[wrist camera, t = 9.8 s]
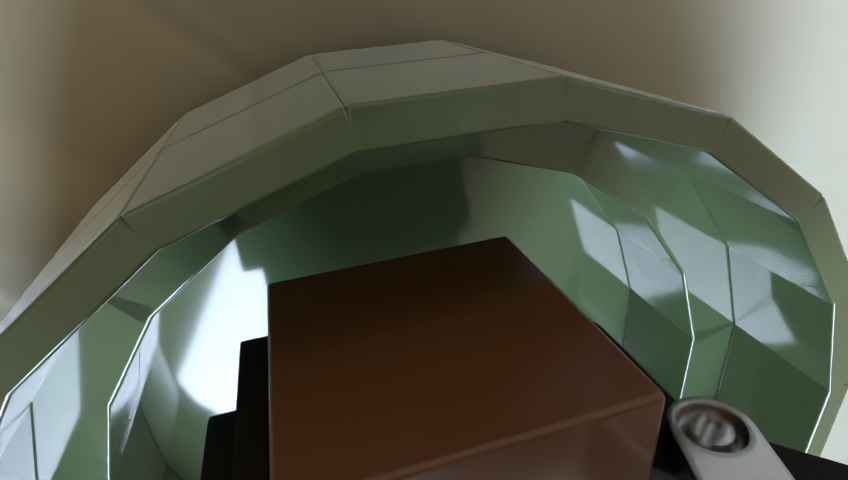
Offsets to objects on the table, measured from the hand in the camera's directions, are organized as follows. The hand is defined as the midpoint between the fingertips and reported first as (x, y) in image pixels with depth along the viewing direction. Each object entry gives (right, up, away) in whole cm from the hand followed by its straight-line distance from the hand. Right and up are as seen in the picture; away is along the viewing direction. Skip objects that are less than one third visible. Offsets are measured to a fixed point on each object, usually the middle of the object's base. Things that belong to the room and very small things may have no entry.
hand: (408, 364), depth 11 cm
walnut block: (0, 0, 0) cm, 0 cm away
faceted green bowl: (0, -1, +5) cm, 5 cm away
